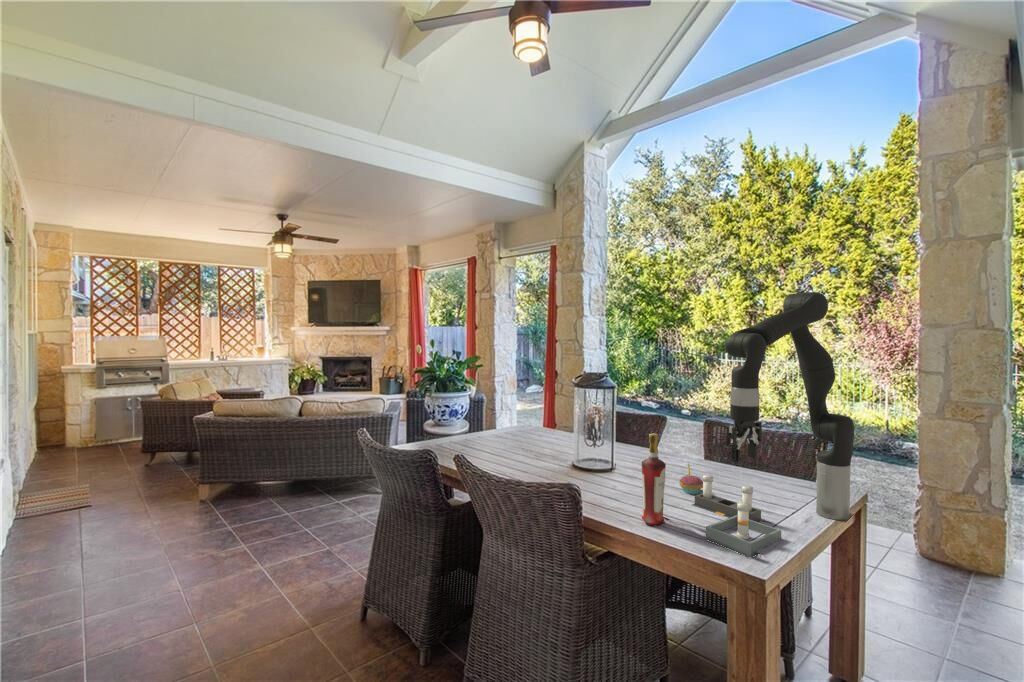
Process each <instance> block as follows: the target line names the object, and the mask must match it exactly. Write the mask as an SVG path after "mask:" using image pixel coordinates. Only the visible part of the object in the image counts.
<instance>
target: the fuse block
mask: <svg viewBox="0 0 1024 682" xmlns="http://www.w3.org/2000/svg"><path fill="white" fill-rule="evenodd" d="M737 503H738V502H737V501H733V500H730V499H726V498H724V497H720V496H717V495H714V494H712V499H710V500H709V499H706V498H703V492H702V493H698V494H695V495H694V503H691V506H693V507H697V508H699V509H702V510H704V511H708V512H711V513H713V514H715V515H716V514H717V515H718V516H719V515H720V516H722V517H725V518H727V519H728V518H730V517H733V516H736V515H737V516H738V509H737ZM749 520H752V521H755V522H758V523H761V522H762V521H764V520H765V519H764V518H762V509H760V508H759V509H758V508H756V507H754V506H752V512H750V513H749Z"/></svg>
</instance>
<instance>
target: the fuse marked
mask: <svg viewBox="0 0 1024 682" xmlns="http://www.w3.org/2000/svg"><path fill="white" fill-rule="evenodd" d="M737 509H738V525H737V531H736V537H738V538H741V539H744V540H749V539H750V533H749V529H748V528H749V510H750V505H749V504H748V503H744V502H741V501H739V502H737Z"/></svg>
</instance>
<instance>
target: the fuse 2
mask: <svg viewBox="0 0 1024 682" xmlns="http://www.w3.org/2000/svg"><path fill="white" fill-rule="evenodd" d="M741 493H742V494H741V495H742V496H741V498H742V502H744V503H748V504H749V505H750V510H749V513H750V512H752V507H753V494H754V487H753V486H751V485H741Z"/></svg>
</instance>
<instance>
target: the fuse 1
mask: <svg viewBox="0 0 1024 682" xmlns="http://www.w3.org/2000/svg"><path fill="white" fill-rule="evenodd" d="M713 478H714V476H713V475H711V474H703V475H702V481H703V488H702V493H703V498H706V499H709V500H710V499H712V495H713V482H714V479H713Z"/></svg>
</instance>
